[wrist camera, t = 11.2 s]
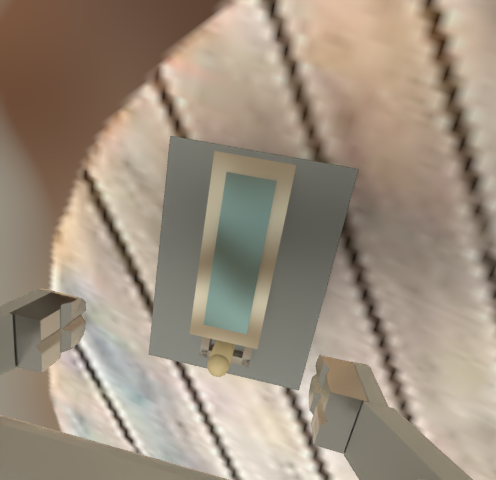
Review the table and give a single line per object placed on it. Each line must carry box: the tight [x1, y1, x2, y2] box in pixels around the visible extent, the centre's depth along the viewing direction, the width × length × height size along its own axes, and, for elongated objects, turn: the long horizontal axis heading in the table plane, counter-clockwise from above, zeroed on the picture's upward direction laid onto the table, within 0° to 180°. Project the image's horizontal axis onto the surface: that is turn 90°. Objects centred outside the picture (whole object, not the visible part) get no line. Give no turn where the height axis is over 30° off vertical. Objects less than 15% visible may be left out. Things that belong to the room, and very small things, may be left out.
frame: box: [190, 151, 296, 367], centre depth 22 cm, size 19×6×5 cm, turn 170°
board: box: [149, 136, 358, 390], centre depth 22 cm, size 16×22×7 cm
